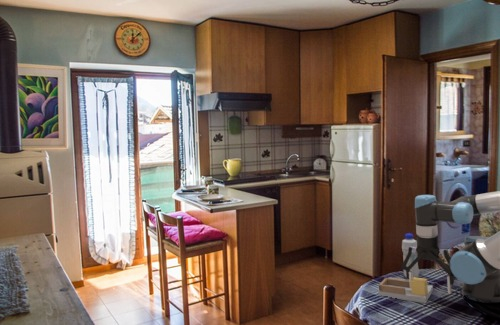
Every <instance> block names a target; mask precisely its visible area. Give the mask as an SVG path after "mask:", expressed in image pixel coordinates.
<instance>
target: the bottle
mask: <svg viewBox="0 0 500 325" xmlns="http://www.w3.org/2000/svg"><path fill="white" fill-rule="evenodd" d="M410 246H413V247H416V248H417V239H414V235H413V233H409V232H408V233H405V234H404V239H402V241H401V249H402V250H401V251H402V257H403V262H404V260H405V258H406V256H407V254H408V249H409V247H410ZM417 257H418V253H417V251H415V252H414V253H412V255H411V257H410V259H409V261H408V263H407V265H406V266H407V267H408V266H409V265H410V264H411V263H412V262H413V261H414V260H415V259H416V258H417ZM410 270H412V271H413V278H414V277H415V278H419V277H420V273H419V272H420V270H419V261H418V262H417V263H416V264H415V265H414V266H413V267H412V268H411V269H410ZM403 275H404V277H405V279H407V277H406V271H405V270H404V269H403Z"/></svg>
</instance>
